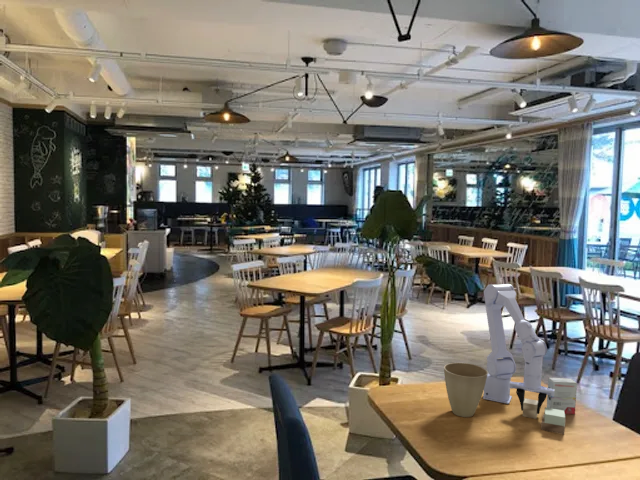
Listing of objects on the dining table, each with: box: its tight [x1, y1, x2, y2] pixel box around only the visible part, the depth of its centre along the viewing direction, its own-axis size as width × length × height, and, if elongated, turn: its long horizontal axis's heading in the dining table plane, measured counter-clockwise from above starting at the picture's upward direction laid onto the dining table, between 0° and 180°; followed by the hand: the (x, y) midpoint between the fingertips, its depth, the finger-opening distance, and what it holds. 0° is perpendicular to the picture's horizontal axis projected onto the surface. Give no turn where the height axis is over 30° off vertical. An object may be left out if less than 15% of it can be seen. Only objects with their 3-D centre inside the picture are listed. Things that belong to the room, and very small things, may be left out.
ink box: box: [546, 377, 578, 415], centre depth 185 cm, size 9×5×12 cm, turn 84°
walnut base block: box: [540, 414, 566, 435], centre depth 171 cm, size 7×7×3 cm
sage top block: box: [543, 406, 566, 427], centre depth 170 cm, size 6×6×3 cm
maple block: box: [522, 397, 539, 420], centre depth 181 cm, size 4×4×5 cm
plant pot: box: [443, 362, 489, 418], centre depth 180 cm, size 15×15×16 cm
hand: (530, 411), depth 181 cm, fingers closed on maple block, 4 cm apart
